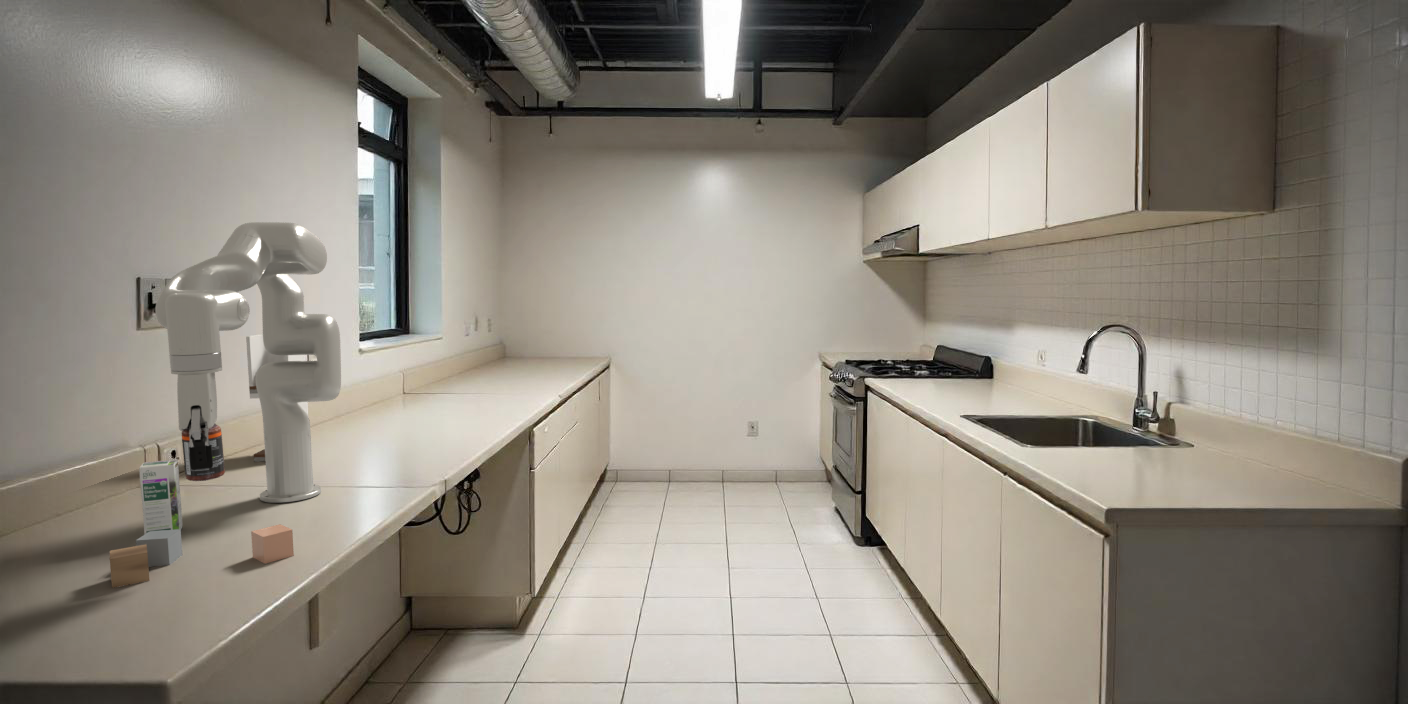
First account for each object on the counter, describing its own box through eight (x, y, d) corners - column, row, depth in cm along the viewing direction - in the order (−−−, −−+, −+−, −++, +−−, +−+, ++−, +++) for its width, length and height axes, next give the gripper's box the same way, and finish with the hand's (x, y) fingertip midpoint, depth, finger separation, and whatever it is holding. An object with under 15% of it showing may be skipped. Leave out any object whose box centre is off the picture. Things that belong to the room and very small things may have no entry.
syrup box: (143, 540, 148) (138, 467, 147) (149, 531, 153) (144, 460, 152) (179, 535, 151) (173, 463, 149) (183, 526, 156) (178, 457, 155)
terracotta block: (252, 557, 139) (251, 531, 138) (281, 550, 143) (280, 524, 142) (264, 564, 136) (263, 536, 135) (293, 556, 140) (292, 529, 139)
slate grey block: (151, 557, 139) (149, 531, 139) (182, 555, 140) (180, 529, 140) (137, 567, 134) (135, 540, 134) (169, 565, 135) (167, 538, 135)
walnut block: (112, 579, 129) (109, 550, 129) (148, 572, 132) (146, 544, 132) (112, 588, 125) (109, 559, 125) (149, 581, 128) (147, 552, 128)
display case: (272, 452, 223) (265, 333, 220) (310, 451, 225) (303, 333, 221) (253, 461, 212) (246, 336, 209) (293, 460, 213) (286, 336, 210)
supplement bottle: (197, 473, 138) (192, 411, 137) (232, 472, 139) (227, 411, 137) (177, 482, 132) (172, 418, 131) (213, 481, 133) (208, 418, 131)
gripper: (178, 359, 139) (186, 455, 141) (161, 371, 124) (171, 479, 126) (226, 356, 142) (233, 450, 144) (216, 368, 127) (224, 473, 129)
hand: (204, 462), depth 135 cm, fingers closed on supplement bottle, 6 cm apart
